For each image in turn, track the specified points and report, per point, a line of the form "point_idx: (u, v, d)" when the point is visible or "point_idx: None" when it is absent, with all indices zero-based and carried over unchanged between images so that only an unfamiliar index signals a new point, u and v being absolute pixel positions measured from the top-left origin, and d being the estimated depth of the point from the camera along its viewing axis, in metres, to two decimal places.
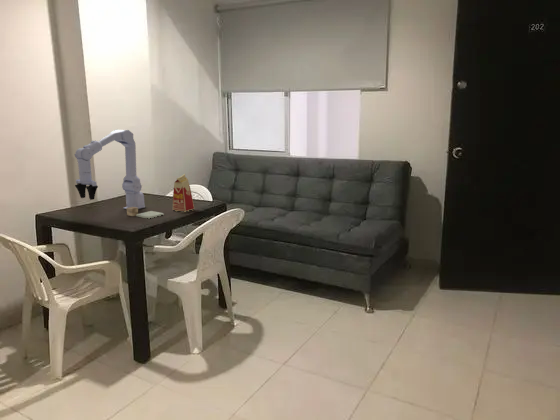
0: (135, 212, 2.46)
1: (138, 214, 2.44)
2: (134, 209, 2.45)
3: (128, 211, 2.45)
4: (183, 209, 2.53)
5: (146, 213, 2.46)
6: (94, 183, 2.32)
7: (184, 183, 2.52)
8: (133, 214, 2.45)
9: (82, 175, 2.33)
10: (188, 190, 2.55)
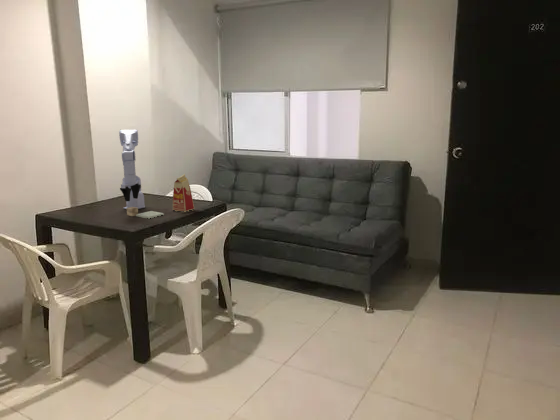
0: (135, 212, 2.46)
1: (138, 214, 2.44)
2: (134, 209, 2.45)
3: (128, 211, 2.45)
4: (183, 209, 2.53)
5: (146, 213, 2.46)
6: (122, 185, 2.37)
7: (184, 183, 2.52)
8: (133, 214, 2.45)
9: (124, 176, 2.42)
10: (188, 190, 2.55)
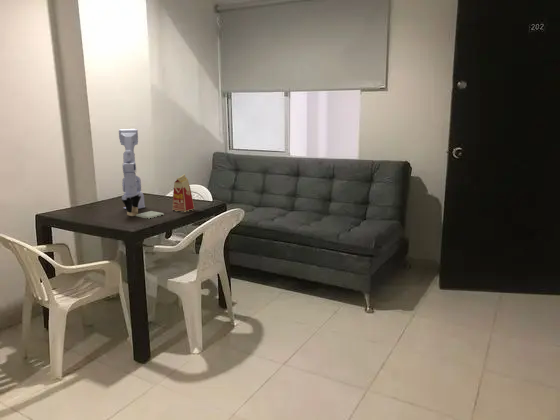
0: (135, 212, 2.46)
1: (138, 214, 2.44)
2: (134, 209, 2.45)
3: None
4: (183, 209, 2.53)
5: (146, 213, 2.46)
6: (123, 197, 2.38)
7: (184, 183, 2.52)
8: (133, 214, 2.45)
9: (125, 187, 2.43)
10: (188, 190, 2.55)
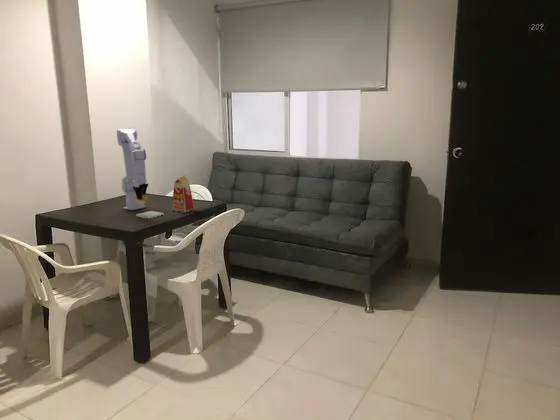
0: (145, 199, 2.44)
1: (138, 214, 2.44)
2: (144, 196, 2.43)
3: None
4: (183, 209, 2.53)
5: (146, 213, 2.46)
6: (135, 184, 2.35)
7: (184, 183, 2.52)
8: (143, 201, 2.43)
9: (134, 175, 2.40)
10: (188, 190, 2.55)
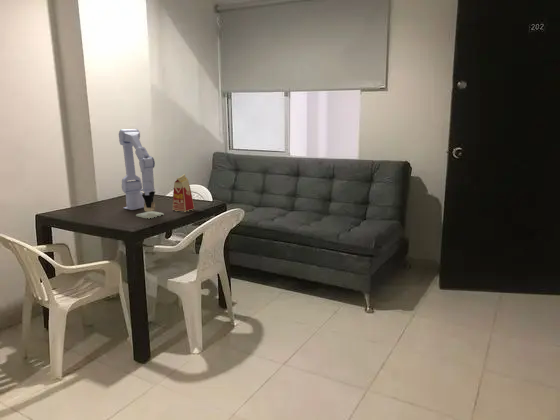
0: (153, 207, 2.44)
1: (138, 214, 2.44)
2: (152, 204, 2.43)
3: (146, 207, 2.42)
4: (183, 209, 2.53)
5: (146, 213, 2.46)
6: (146, 192, 2.35)
7: (184, 183, 2.52)
8: (152, 209, 2.43)
9: (143, 183, 2.40)
10: (188, 190, 2.55)
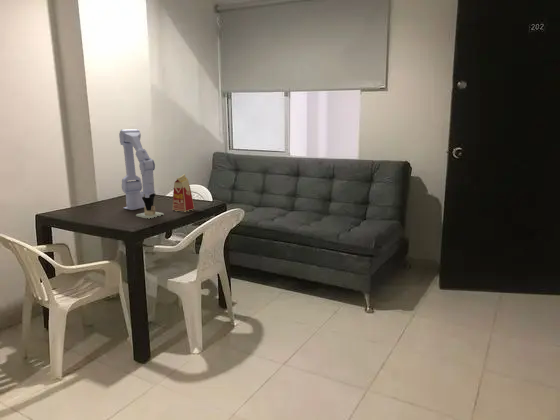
0: (153, 210, 2.45)
1: (138, 214, 2.44)
2: (153, 207, 2.44)
3: None
4: (183, 209, 2.53)
5: None
6: (146, 195, 2.36)
7: (184, 183, 2.52)
8: (152, 212, 2.44)
9: (143, 185, 2.40)
10: (188, 190, 2.55)
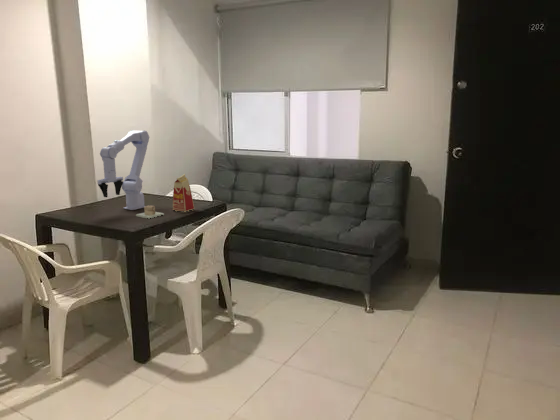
0: (153, 210, 2.45)
1: (138, 214, 2.44)
2: (153, 207, 2.44)
3: (147, 210, 2.43)
4: (183, 209, 2.53)
5: None
6: (98, 181, 2.39)
7: (184, 183, 2.52)
8: (152, 212, 2.44)
9: None
10: (188, 190, 2.55)
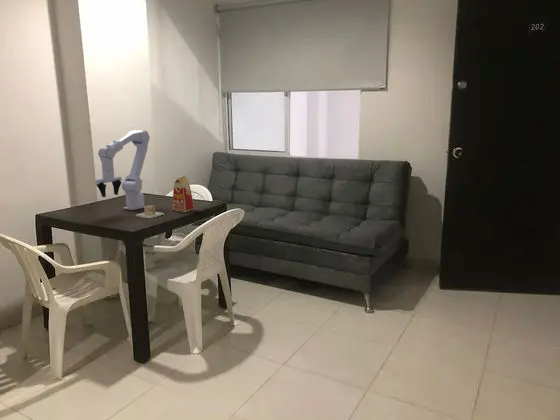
0: (153, 210, 2.45)
1: (138, 214, 2.44)
2: (153, 207, 2.44)
3: (147, 210, 2.43)
4: (183, 209, 2.53)
5: None
6: (96, 181, 2.39)
7: (184, 183, 2.52)
8: (152, 212, 2.44)
9: None
10: (188, 190, 2.55)
